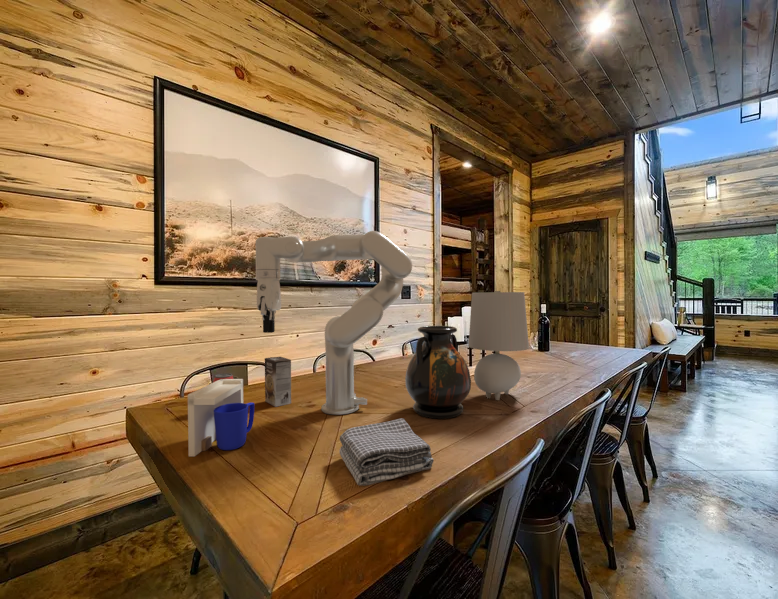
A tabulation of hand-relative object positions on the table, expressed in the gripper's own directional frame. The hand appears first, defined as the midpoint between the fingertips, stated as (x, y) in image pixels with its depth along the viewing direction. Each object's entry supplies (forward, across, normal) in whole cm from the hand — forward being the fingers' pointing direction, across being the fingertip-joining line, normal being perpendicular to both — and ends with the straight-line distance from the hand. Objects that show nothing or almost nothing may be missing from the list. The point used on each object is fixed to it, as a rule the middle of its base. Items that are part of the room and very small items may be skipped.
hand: (268, 332), depth 113 cm
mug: (+27, -21, +1) cm, 35 cm away
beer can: (+27, +6, +18) cm, 33 cm away
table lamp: (+27, +19, -80) cm, 87 cm away
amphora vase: (+27, +3, -55) cm, 61 cm away
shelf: (+27, -21, +6) cm, 35 cm away
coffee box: (+27, +14, +2) cm, 31 cm away
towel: (+28, -33, -38) cm, 58 cm away
